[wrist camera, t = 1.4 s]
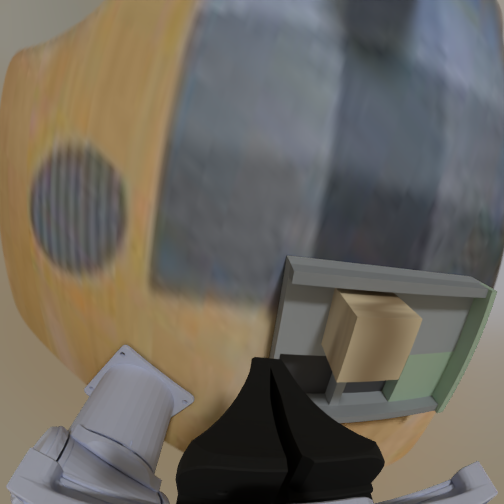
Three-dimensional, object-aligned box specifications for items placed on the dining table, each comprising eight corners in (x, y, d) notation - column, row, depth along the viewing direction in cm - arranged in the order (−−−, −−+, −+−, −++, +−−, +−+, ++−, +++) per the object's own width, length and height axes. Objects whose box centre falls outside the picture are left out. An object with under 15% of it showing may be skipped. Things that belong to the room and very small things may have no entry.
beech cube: (391, 291, 19) (422, 318, 14) (375, 344, 20) (398, 379, 15) (335, 286, 19) (357, 316, 14) (321, 344, 20) (336, 382, 15)
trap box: (470, 276, 21) (497, 291, 17) (426, 389, 24) (442, 411, 20) (286, 255, 20) (295, 273, 16) (261, 395, 23) (263, 427, 19)
